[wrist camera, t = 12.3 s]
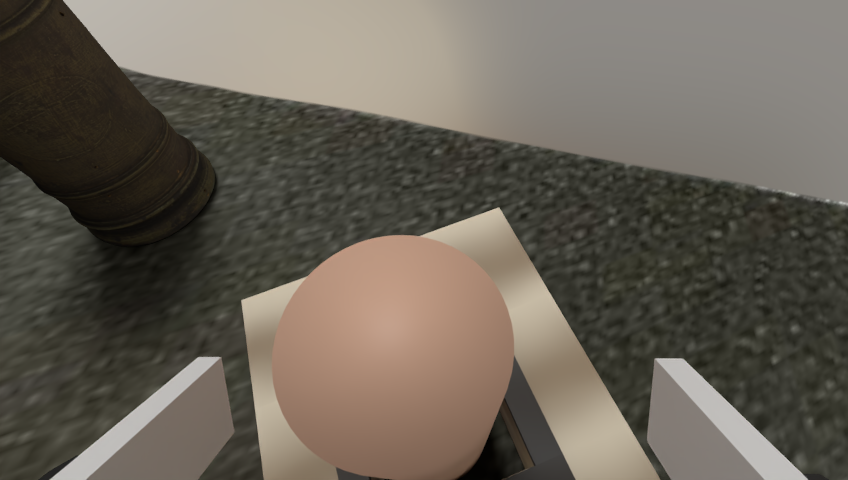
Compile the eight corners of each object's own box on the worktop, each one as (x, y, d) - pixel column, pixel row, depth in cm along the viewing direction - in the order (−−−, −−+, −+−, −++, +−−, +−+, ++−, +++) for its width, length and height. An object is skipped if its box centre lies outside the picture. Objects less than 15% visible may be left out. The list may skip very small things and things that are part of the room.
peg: (374, 396, 21) (257, 278, 9) (462, 361, 22) (456, 207, 10) (404, 502, 19) (294, 527, 7) (503, 460, 19) (563, 412, 7)
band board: (265, 320, 24) (237, 297, 21) (495, 235, 26) (499, 203, 23) (334, 757, 15) (301, 822, 12) (689, 581, 16) (737, 601, 13)
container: (239, 166, 31) (19, -146, 16) (163, 264, 27) (-235, -29, 12) (150, 143, 33) (-116, -147, 18) (68, 230, 29) (-367, -51, 14)
